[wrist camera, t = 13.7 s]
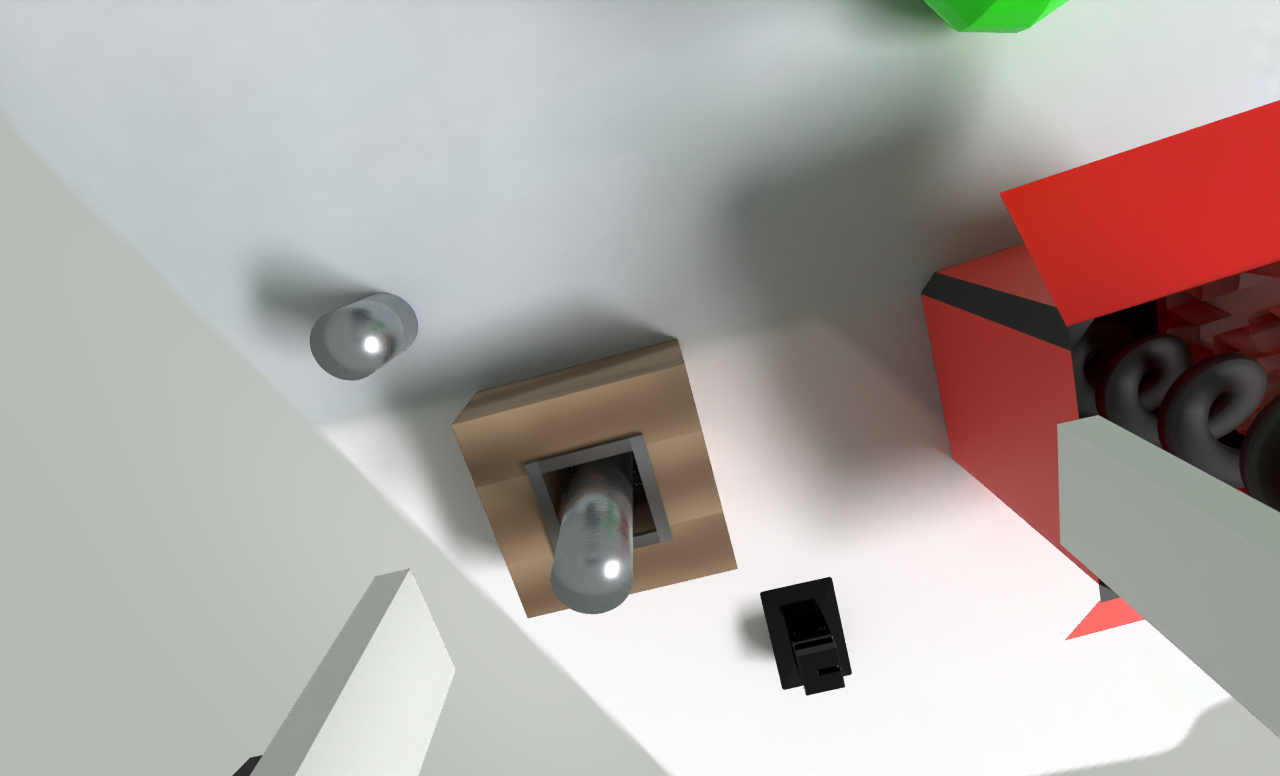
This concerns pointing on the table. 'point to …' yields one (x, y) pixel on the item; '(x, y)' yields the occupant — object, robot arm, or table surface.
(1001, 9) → the plastic bottle
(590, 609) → the long pin
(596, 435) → the hole block
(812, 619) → the black notched mounting plate
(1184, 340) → the jack-in-the-box
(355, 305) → the short pin
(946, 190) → the table surface
